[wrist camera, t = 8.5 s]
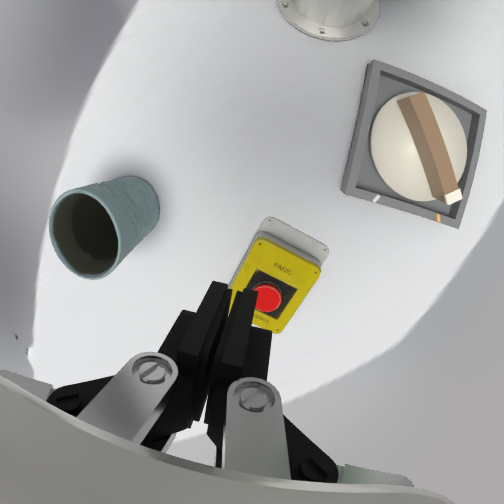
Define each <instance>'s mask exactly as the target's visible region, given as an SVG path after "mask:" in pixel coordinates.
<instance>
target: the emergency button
mask: <svg viewBox="0 0 504 504" xmlns="http://www.w3.org/2000/svg"><path fill="white" fill-rule="evenodd" d="M328 253H329V251H328V247H327V246H326V245H324V244H323V243H321V242H319V241H317V240H315V239H313V238H311V237H310V236H308V235H306V234H304V233H302V232H300V231H298V230H297V229H295V228H293V227H291V226H289V225H287V224H285V223H283V222H281V221H280V220H278V219H276V218H274V217H268V218H265V220H264V221H263V222H262V224H261V226H260V228H259V229H258V231H257V233H256V235H255V237H254V239H253V241H252V243H251V244H250V246H249V248H248V250H247V252H246V254H245V256H244V257H243V259H242V261H241V263H240V265H239V267H238V269H237V271H236V272H235V274H234V276H233V278H232V280H231V282H230V284H229V286H228V288H229V289H233V292H232V297H231V303H230V308H229V312H230V310H231V307H232V304H233V301H234V298H235V295H236V292H237V290H238V291H242V292H243V289H244V288H247V289H251V290H256V291H259V292H258V297H257V302H256V307H255V311H254V316H253V321H252V324H254V325H257V326H259V327H261V328H263V329H267V330H272V333H275V334H278V333H280V332H282V330H283V329H284V327H285V326H286V325H287V323H288V322H289V320H290V319H291V317H292V316H293V315H294V313H295V312H296V310H297V309H298V307H299V306H300V305H301V303H302V302H303V300H304V299H305V297H306V296H307V294H308V293H309V291H310V290H311V288H312V287H313V285H314V284H315V282H316V281H317V279H318V278H319V276H320V272H321V270H320V267H321V265H322V264H323V262H324V261H325V259H326V257H327V256H328Z"/></svg>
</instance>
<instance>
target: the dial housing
mask: <svg viewBox="0 0 504 504" xmlns="http://www.w3.org/2000/svg"><path fill="white" fill-rule="evenodd" d="M408 92H425V93H427V94H430V95H432V96H434V97H436V98H438V99H440V100H441V101H443V102H444V103H445V104H446V105H448V106H449V107H450V108H451V110H452V111H453V112H454V113H455V115H456V116H457V118H458V119H459V121H460V123H461V125H462V128H463V130H464V133H465V137H466V143H467V159H466V165H465V168H464V171H463V174H462V176H461V178H460V180H459V181H458V183H457V185H458V188H460V190H461V194H462V198H463V199H461V200H459V201H456V202H454V203H452V204H450V205H447V204H445V203H443V202H441V201H440V200H438V199H435V200H431V201H415V200H411V199H408V198H406V197H403V196H402V195H400V194H398V193H396V192H395V191H393V190H392V189H391V188H389V187H388V186H387V185H386V184H385V183H384V182H383V180H382V179H381V178H380V176H379V175H378V173H377V172H376V170H375V167H374V165H373V163H372V160H371V156H370V151H369V132H370V127H371V123H372V121H373V119H374V116H375V115H376V113H377V111H378V110H379V109H380V107H381V106H382V105H383V104H384V103H385V102H387V101H388V100H390V99H391V98H393V97H395V96H397V95H400V94H404V93H408ZM486 112H487V110H485V109H483V108H482V107H480V106H478V105H476V104H474V103H473V102H471V101H469V100H467V99H465V98H463V97H461V96H459V95H457V94H456V93H454V92H452V91H449V90H447V89H445V88H443V87H441V86H439V85H437V84H435V83H432V82H430V81H428V80H426V79H423V78H421V77H419V76H416V75H414V74H411V73H409V72H406V71H404V70H401V69H399V68H396V67H393V66H391V65H388V64H385V63H382V62H379V61H376V60H373V61H372V62H370V63H369V64H368V65H367V70H366V75H365V81H364V86H363V92H362V97H361V102H360V107H359V112H358V116H357V121H356V126H355V130H354V135H353V140H352V144H351V148H350V153H349V157H348V161H347V165H346V169H345V174H344V178H343V182H342V186H341V191H342V192H343V193H344V194H346V195H350V196H354V197H357V198H361V199H365V200H368V201H372V202H374V203H379V204H382V205H386V206H389V207H392V208H396V209H399V210H402V211H405V212H409V213H412V214H415V215H418V216H421V217H424V218H427V219H430V220H433V221H436V222H439V223H442V224H445V225H448V226H451V227H454V228H457V229H459V226H460V223H461V220H462V217H463V214H464V210H465V207H466V204H467V200H468V197H469V193H470V190H471V186H472V182H473V178H474V174H475V170H476V166H477V162H478V157H479V152H480V147H481V142H482V137H483V131H484V125H485V119H486Z"/></svg>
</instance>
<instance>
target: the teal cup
mask: <svg viewBox="0 0 504 504" xmlns="http://www.w3.org/2000/svg"><path fill="white" fill-rule="evenodd" d="M159 210H160V209H159V202H158V199H157V195H156V193H155V191H154V189H153V188H152V187H151V186H150V185H149V184H148V183H147V182H146V181H144V180H143V179H141V178H138V177H134V176H126V177H121V178H116V179H114V180H112V181H108V182H101V183H100V184H98V183H95V184H92V185H88V186H84V187H80V188H76V189H72V190H69V191H67V192H64V193H63V194H62V195H61V196H60V197H59V198H58V199H57V200H56V201H55V203H54V205H53V207H52V209H51V212H50V217H49V233H50V238H51V242H52V245H53V247H54V250H55V252H56V254H57V255H58V257H59V259H60V260H61V261H62V263H63V264H64V265H65V266H66V267H67V268H68V269H69V270H70V271H71V272H73V273H74V274H76V275H78V276H79V277H82V278H85V279H90V280H96V279H101V278H104V277H106V276H107V275H109V274H110V273H111V272H112V271H113V270H114V269H115V268H116V267H117V266H118V265H119V264H120V262H121V261H122V260H123V259H124V258H125V257H126V256H127V255H128V254H129V253H130V252H131V251H132V250H133V248H134V247H135V246H136V245H137V244H138V243H139V242H140V241H141V240H142V239H143V238H144V237H145V236H146V235H147V234H148V233H149V232H150V231H151V230H152V229H153V228H154V227H155V225H156V223H157V221H158V219H159V214H160V213H159Z"/></svg>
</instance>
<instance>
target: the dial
mask: <svg viewBox="0 0 504 504" xmlns="http://www.w3.org/2000/svg"><path fill="white" fill-rule="evenodd" d="M369 151H370V156H371V160H372V163H373V165H374V167H375V170H376V172H377V173H378V175H379V176H380V178H381V179H382V180H383V182H384V183H385V184H386V185H387V186H388V187H389V188H391V189H392V190H393V191H395V192H396V193H398V194H400V195H402V196H403V197H406V198H408V199H411V200H415V201H431V200H435V199H438V200H440V201H441V202H443V203H445V204H447V205H450V204H452V203H454V202H456V201H459V200H461V199H463V198H462V194H461V190H460V188H458V185H457V183H458V181H459V180H460V178H461V176H462V174H463V171H464V168H465V165H466V159H467V143H466V137H465V133H464V130H463V128H462V125H461V123H460V121H459V119H458V118H457V116H456V115H455V113H454V112H453V111H452V110H451V108H450V107H449V106H448V105H446V104H445V103H444V102H443V101H441V100H440V99H438V98H436V97H434V96H432V95H430V94H427V93H425V92H408V93H404V94H400V95H397V96H395V97H393V98H391V99H390V100H388V101H387V102H385V103H384V104H383V105H382V106H381V107H380V109H379V110H378V111H377V113H376V115H375V116H374V119H373V121H372V123H371V127H370V132H369Z"/></svg>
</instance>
